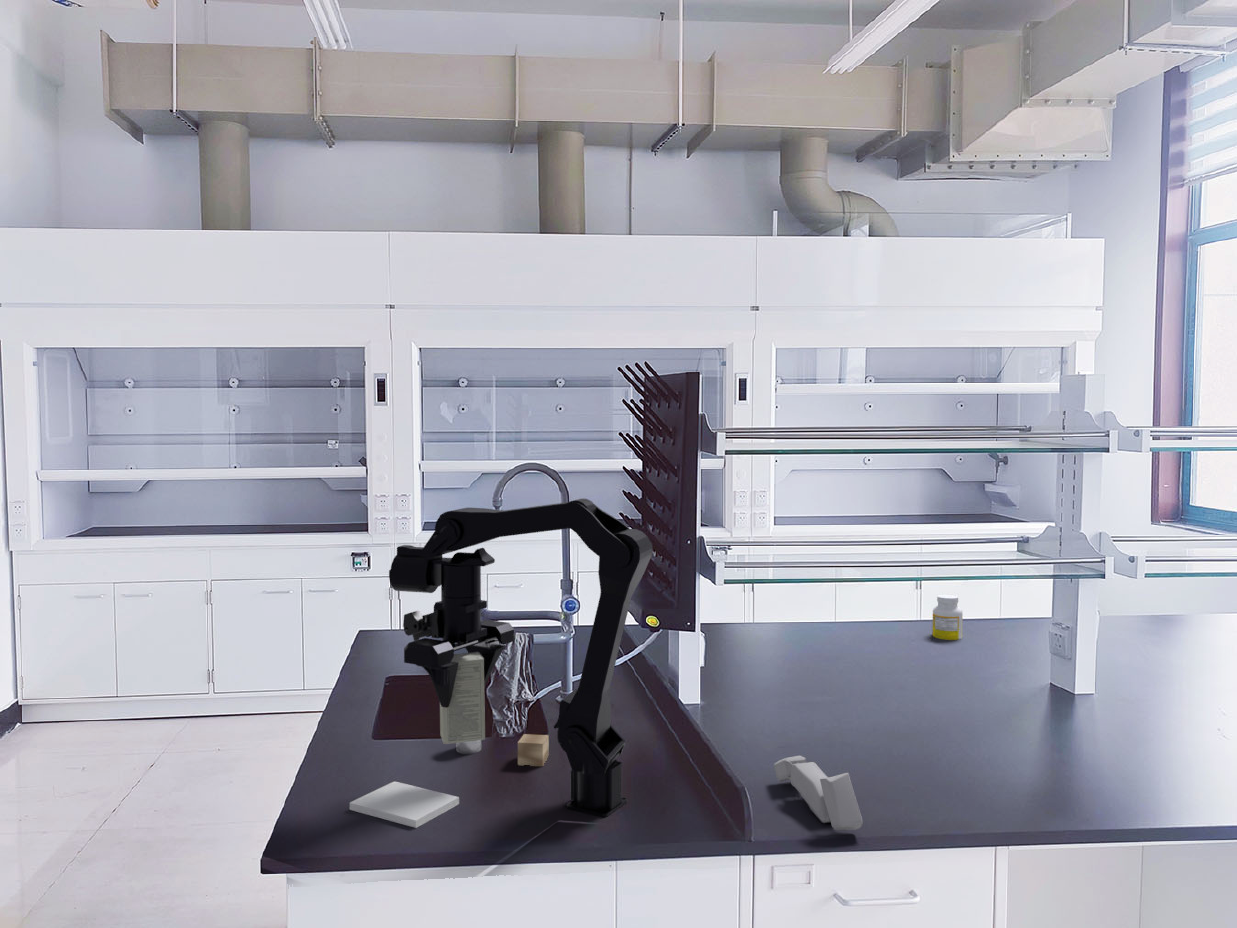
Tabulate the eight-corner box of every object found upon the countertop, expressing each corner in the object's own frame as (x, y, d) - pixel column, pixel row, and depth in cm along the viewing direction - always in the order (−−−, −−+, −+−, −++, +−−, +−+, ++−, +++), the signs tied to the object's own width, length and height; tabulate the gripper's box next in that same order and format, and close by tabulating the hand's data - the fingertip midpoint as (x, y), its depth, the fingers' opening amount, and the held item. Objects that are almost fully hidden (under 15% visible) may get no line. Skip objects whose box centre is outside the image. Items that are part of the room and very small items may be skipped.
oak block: (548, 759, 152) (548, 735, 152) (542, 769, 149) (542, 743, 148) (524, 758, 153) (524, 734, 153) (517, 767, 149) (517, 742, 149)
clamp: (864, 833, 124) (864, 781, 124) (838, 837, 123) (838, 784, 123) (796, 784, 144) (795, 739, 144) (773, 786, 143) (772, 741, 143)
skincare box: (480, 731, 143) (480, 651, 143) (485, 741, 139) (485, 658, 139) (438, 735, 142) (438, 654, 141) (442, 745, 137) (441, 661, 137)
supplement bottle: (941, 645, 230) (942, 592, 229) (967, 651, 225) (968, 596, 224) (926, 650, 225) (927, 596, 225) (952, 655, 220) (953, 600, 220)
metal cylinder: (486, 750, 157) (486, 720, 156) (471, 758, 153) (470, 727, 153) (466, 746, 159) (466, 716, 158) (451, 753, 155) (451, 723, 155)
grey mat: (459, 804, 135) (459, 797, 135) (416, 827, 127) (416, 820, 127) (394, 787, 141) (394, 781, 140) (349, 809, 133) (349, 802, 133)
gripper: (458, 580, 151) (459, 677, 152) (374, 599, 135) (375, 708, 136) (516, 586, 146) (516, 687, 147) (434, 607, 130) (435, 721, 131)
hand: (461, 700), depth 140 cm, fingers closed on skincare box, 7 cm apart
